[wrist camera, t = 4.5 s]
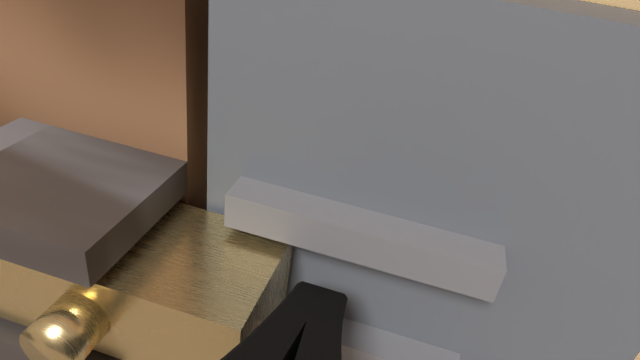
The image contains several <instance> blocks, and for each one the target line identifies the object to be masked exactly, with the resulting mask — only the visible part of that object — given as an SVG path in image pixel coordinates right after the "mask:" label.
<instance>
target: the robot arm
mask: <svg viewBox="0 0 640 360" xmlns="http://www.w3.org/2000/svg"><path fill="white" fill-rule="evenodd" d="M347 300H348V298H347V296H346V295H345V294H344V293H341V292H337V291H334V290H331V289H327V288H324V287H321V286H317V285H314V284H311V283H307V282H304V281H301V282H299V283H297V284H296V286H295V287H294V288H293V289H292V291H291V292H290V293H289V294H288V295H287V297H286V298H285V299H284V300H283V301H282V302H281V303H280V304H279V305H278V307H277V308H276V309H275V310H274V311H273V312H272V313H271V314H270V315H269V316H268V317H267V318H266V319H265V320H264V321H263V322H262V323H261V324H260V325H259V326H258V327H257V328H256V329H254V330H253V331H252V332H251V333H250V334H249V335H248V336H247V337H246V338H245V339H244V340H243V341H241V342H240V343H239V344H238V345H237V346H236V347H234V348H233V349H232V350H231V351H230V352H229V353H227V354H226V355H225V356H224V357H223V358H221V359H220V360H342V355H341V342H342V324H343V318H344V314H345V309H346V304H347Z"/></svg>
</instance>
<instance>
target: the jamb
mask: <svg viewBox="0 0 640 360" xmlns="http://www.w3.org/2000/svg"><path fill="white" fill-rule="evenodd" d="M208 24H209V0H0V259H2V260H5V261H8V262H11V263H14V264H17V265H20V266H23V267H26V268H29V269H32V270H35V271H39V272H42V273H45V274H48V275H51V276H54V277H57V278H60V279H63V280H66V281H69V282H72V283H75V284H78V285H81V286H84V287H87V288H91V287H92V286H93V285H94V284H95V283H96V282H97V281H98V280H99V279H100V278H101V277H102V276H103V275H104V274H105V273H106V272H107V271H108V270H109V269H110V268H111V267H112V266H113V265H114V264H116V263H117V262H118V261H119V260H120V259H121V258H122V257H123V256H124V255H125V254H126V253H127V252H128V251H129V250H130V249H131V248H132V247H133V246H134V245H135V244H136V243H137V242H138V241H139V240H140V239H141V238H142V237H143V236H144V235H145V234H146V233H147V232H148V231H149V230H150V229H151V228H152V227H153V226H154V225H155V224H156V223H157V222H158V221H159V220H160V219H161V218H162V217H163V216H164V215H165V214H166V213H167V212H168V211H169V210H170V209H171V208H172V207H173V206H174V205H175V204H176V203H177V202H179V203H183V204H186V205H190V206H193V207H197V208H200V209H204V210H207V140H208ZM26 328H27V326H24V325H21V324H18V323H16V322H13V321H10V320H7V319H4V318H1V317H0V360H30V359H29V358H28V357H27V356H26V354H25V353H24V351H23V350H22V348H21V346H20V342H19V337H20V334H21V333H22V332H23V331H24V330H25V329H26ZM85 360H121V359H118V358H115V357H113V356H110V355H107V354H104V353H101V352H98V351H96V350H92V351H91V353H90V354H89V355H88V356H87V357H86V358H85Z"/></svg>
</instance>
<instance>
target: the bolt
mask: <svg viewBox="0 0 640 360" xmlns="http://www.w3.org/2000/svg"><path fill="white" fill-rule="evenodd" d="M292 249H293V245H289V244H286V243H282V242H279V241H275V240H272V239H268V238H265V237H261V236H258V235H254V234H251V233H247V232H244V231H240V230H237V229H233V228H230V227H226V226H224V215H222V214H218V213H215V212H211V211H207V210H204V209H200V208H197V207H193V206H190V205H186V204H183V203H179V202H177V203H176V204H175V205H174V206H173V207H172V208H171V209H170V210H169V211H168V212H167V213H166V214H165V215H164V216H163V217H162V218H161V219H160V220H159V221H158V222H157V223H156V224H155V225H154V226H153V227H152V228H151V229H150V230H149V231H148V232H147V233H146V234H145V235H144V236H143V237H142V238H141V239H140V240H139V241H138V242H137V243H136V244H135V245H134V246H133V247H132V248H131V249H130V250H129V251H128V252H127V253H126V254H125V255H124V256H123V257H122V258H121V259H120V260H119V261H118V262H117V263H116V264H114V265H113V266H112V267H111V268H110V269H109V270H108V271H107V272H106V273H105V274H104V275H103V276H102V277H101V278H100V279H99V280H98V281H97V282H96V283H95V284H94V285H93V286H92V287H91V288H87V287H84V286H81V285H78V284H75V283H72V282H69V281H66V280H63V279H60V278H57V277H54V276H51V275H48V274H45V273H42V272H39V271H35V270H32V269H29V268H26V267H23V266H20V265H17V264H14V263H11V262H8V261H5V260H2V259H0V317H1V318H4V319H7V320H10V321H13V322H16V323H18V324H21V325H24V326H27V328H26V329H25V330H24V331H23V332H22V333H21V334H20V337H19V342H20V346H21V348H22V350H23V351H24V353H25V354H26V356H27V357H28V358H29V359H30V360H85V358H86V357H87V356H88V355H89V354H90V353H91V351H92V350H96V351H98V352H101V353H104V354H107V355H110V356H113V357H115V358H118V359H121V360H220V359H221V358H223V357H224V356H225V355H226V354H227V353H229V352H230V351H231V350H232V349H233V348H234V347H236V346H237V345H238V344H239V343H240V342H241V341H243V340H244V339H245V338H246V337H247V336H248V335H249V334H250V333H251V332H252V331H253V330H254V329H256V328H257V327H258V326H259V325H260V324H261V323H262V322H263V321H264V320H265V319H266V318H267V317H268V316H269V315H270V314H271V313H272V312H273V311H274V310H275V309H276V308H277V307H278V305H279V304H280V303H281V302H282V301H283V300H284V299H285V298H286V297H287V289H288V281H289V273H290V265H291V257H292Z"/></svg>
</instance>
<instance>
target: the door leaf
mask: <svg viewBox="0 0 640 360" xmlns="http://www.w3.org/2000/svg"><path fill="white" fill-rule="evenodd" d="M207 211H211V212H215V213H218V214H222V215H224V226H226V227H230V228H233V229H237V230H240V231H244V232H247V233H251V234H254V235H258V236H261V237H265V238H268V239H272V240H275V241H279V242H282V243H286V244H289V245H293V249H292V257H291V265H290V273H289V281H288V289H287V295H288V294H289V293H290V292H291V291H292V289H293V288H294V287H295V286H296V284H297V283H299V282H301V281H304V282H307V283H311V284H314V285H317V286H321V287H324V288H327V289H331V290H334V291H337V292H341V293H344V294H345V295H346V296H347V298H348V300H347V304H346V309H345V314H344V318H343V324H342V342H341V355H342V360H634V359H635V357H636V356H637V354H638V353H639V352H640V11H636V10H630V9H624V8H619V7H613V6H607V5H602V4H596V3H590V2H585V1H579V0H209V24H208V140H207Z"/></svg>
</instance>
